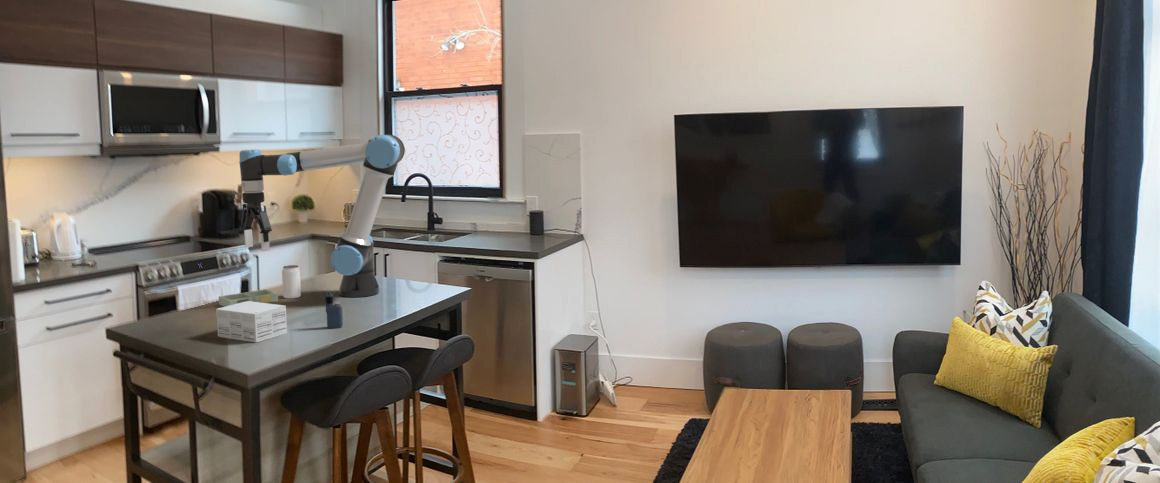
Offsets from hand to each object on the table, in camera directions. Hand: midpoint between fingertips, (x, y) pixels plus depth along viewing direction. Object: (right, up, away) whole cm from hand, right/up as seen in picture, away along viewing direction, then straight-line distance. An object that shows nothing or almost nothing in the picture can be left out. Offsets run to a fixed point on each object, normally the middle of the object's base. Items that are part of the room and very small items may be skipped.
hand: (257, 248), depth 302 cm
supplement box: (+16, -27, -43) cm, 53 cm away
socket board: (-3, -20, +1) cm, 20 cm away
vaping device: (+39, -26, -34) cm, 58 cm away
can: (+9, -19, +11) cm, 24 cm away
